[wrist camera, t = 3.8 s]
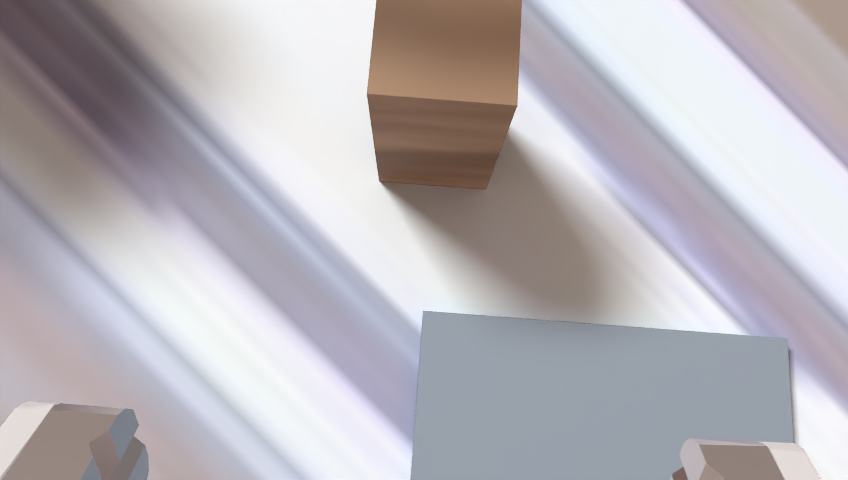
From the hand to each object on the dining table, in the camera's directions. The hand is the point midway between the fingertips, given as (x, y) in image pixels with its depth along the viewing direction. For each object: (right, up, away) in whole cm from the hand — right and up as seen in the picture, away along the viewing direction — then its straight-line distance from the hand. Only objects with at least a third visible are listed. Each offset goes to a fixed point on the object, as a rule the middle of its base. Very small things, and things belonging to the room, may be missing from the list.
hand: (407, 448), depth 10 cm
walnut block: (+1, +8, +21) cm, 22 cm away
